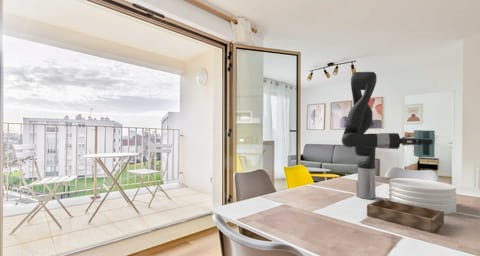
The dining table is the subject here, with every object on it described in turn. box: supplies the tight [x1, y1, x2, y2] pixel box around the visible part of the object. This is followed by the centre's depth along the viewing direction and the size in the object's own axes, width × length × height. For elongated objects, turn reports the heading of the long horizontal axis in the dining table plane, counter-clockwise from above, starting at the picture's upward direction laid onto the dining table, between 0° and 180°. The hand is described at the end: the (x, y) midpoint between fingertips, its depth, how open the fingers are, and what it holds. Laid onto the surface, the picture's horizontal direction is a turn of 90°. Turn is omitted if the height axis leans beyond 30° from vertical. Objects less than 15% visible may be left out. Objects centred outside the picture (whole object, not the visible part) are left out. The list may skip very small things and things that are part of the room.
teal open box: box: [413, 129, 436, 158], centre depth 109 cm, size 6×6×12 cm
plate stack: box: [388, 177, 457, 215], centre depth 125 cm, size 28×28×12 cm
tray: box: [366, 198, 445, 234], centre depth 103 cm, size 24×16×5 cm, turn 39°
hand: (429, 141), depth 108 cm, fingers closed on teal open box, 6 cm apart
